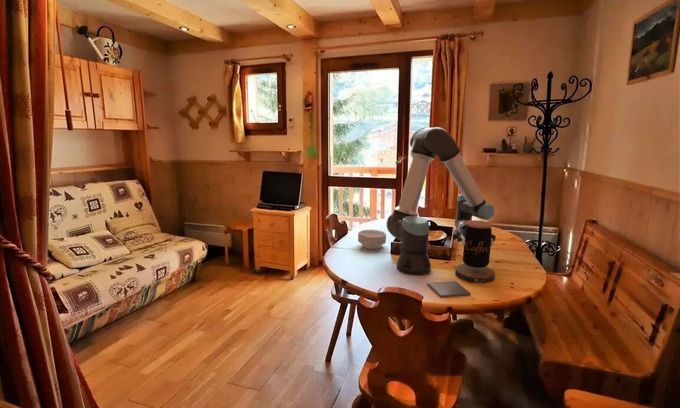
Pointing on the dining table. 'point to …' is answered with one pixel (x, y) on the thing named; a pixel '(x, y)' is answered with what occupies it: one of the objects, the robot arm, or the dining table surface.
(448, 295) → the slate coaster
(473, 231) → the coffee jar
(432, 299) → the dining table surface
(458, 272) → the grey round disc
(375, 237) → the paper bowls
